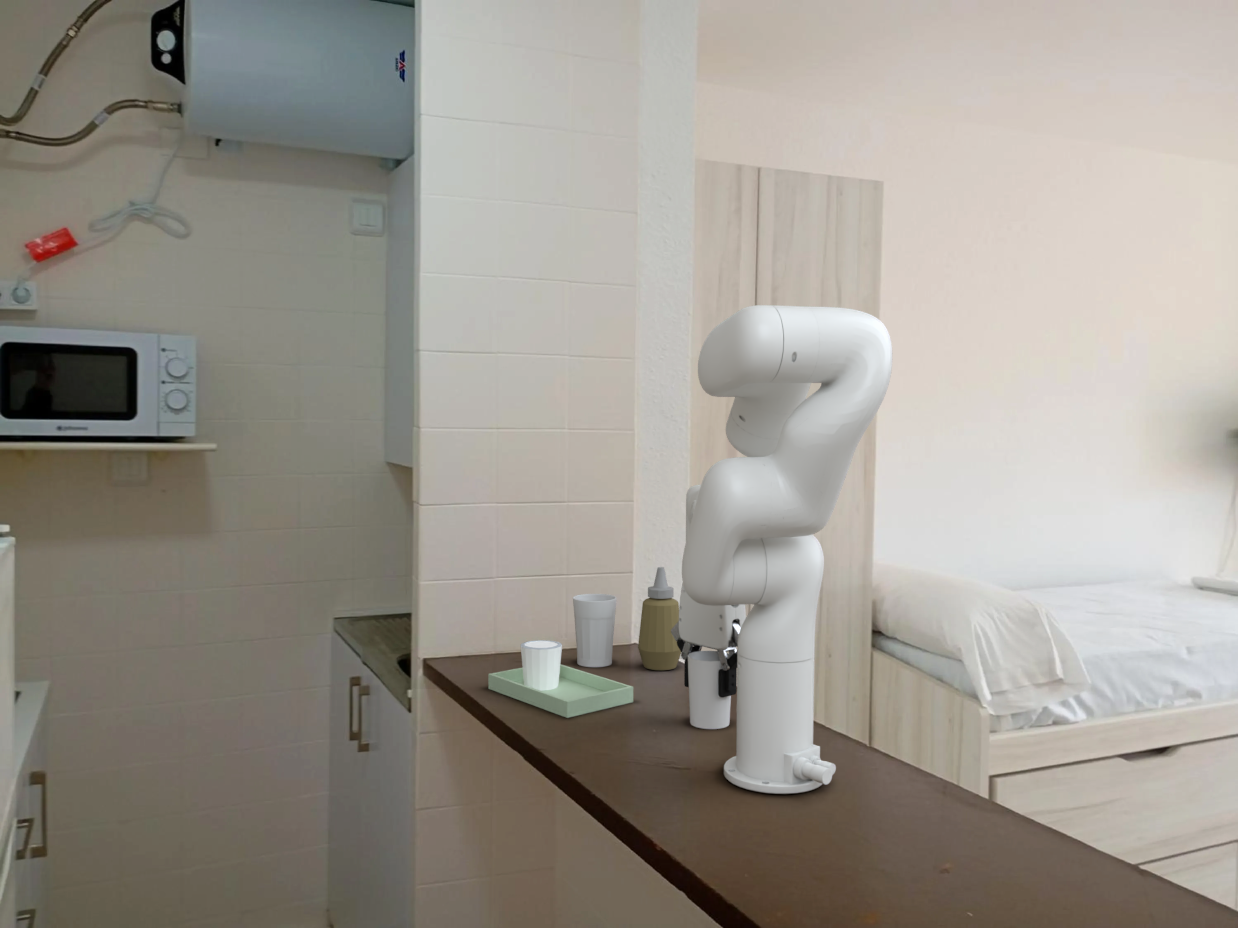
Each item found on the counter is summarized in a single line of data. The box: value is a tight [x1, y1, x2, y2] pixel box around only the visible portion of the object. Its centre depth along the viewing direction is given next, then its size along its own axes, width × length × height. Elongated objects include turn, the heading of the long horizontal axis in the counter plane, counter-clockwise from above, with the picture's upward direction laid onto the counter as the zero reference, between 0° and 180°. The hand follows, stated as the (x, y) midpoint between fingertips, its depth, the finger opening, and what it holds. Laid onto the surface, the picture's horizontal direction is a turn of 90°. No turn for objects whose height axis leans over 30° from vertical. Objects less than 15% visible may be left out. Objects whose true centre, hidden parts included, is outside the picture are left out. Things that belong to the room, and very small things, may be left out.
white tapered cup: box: [520, 639, 563, 691], centre depth 170 cm, size 7×7×7 cm
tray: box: [487, 663, 634, 719], centre depth 166 cm, size 21×13×2 cm, turn 41°
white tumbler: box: [688, 650, 732, 730], centre depth 152 cm, size 7×7×10 cm
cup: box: [572, 593, 618, 668], centre depth 188 cm, size 8×8×12 cm
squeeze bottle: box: [637, 566, 682, 671], centre depth 184 cm, size 8×8×18 cm
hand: (710, 689), depth 152 cm, fingers open, 6 cm apart
